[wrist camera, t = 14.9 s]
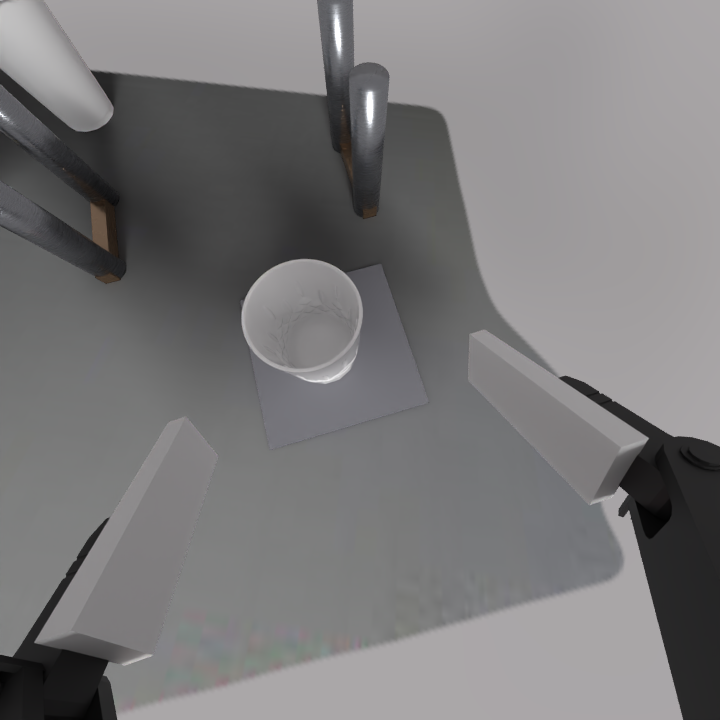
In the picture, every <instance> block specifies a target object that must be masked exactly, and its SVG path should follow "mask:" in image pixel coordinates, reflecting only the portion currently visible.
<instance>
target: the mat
mask: <svg viewBox="0 0 720 720" xmlns="http://www.w3.org/2000/svg"><path fill="white" fill-rule="evenodd" d="M345 274H346V275H347V276H348V277H349V278H350V279H351V280H352V282H353V283H354V285H355V286H356V288H357V290H358V292H359V294H360V297H361V301H362V307H363V319H362V326H361V334H360V342H359V347H358V351H357V355H356V358H355V360H354V363H353V365H352V368H351V370H350V371H349V372H348V373H346V374H345V375H344V376H343V377H342V378H341V379H340V380H337V381H334V382H331V383H327V384H320V383H313V382H309V381H306V380H302V379H300V378H297V377H295V376H292V375H290V374H288V373H286V372H284V371H281V370H279V369H277V368H274V367H272V366H270V365H268V364H267V363H265V362H264V361H262V360H261V359H260V358H259V357H258V356H257V355H256V354H255V353H254V352H253V351H252V349H251V348H250V347H249V350H250V355H251V360H252V365H253V370H254V375H255V380H256V385H257V390H258V395H259V400H260V405H261V410H262V415H263V420H264V425H265V430H266V435H267V440H268V445H269V450H272V449H276V448H279V447H282V446H286V445H289V444H292V443H296V442H299V441H302V440H306V439H309V438H312V437H316V436H319V435H323V434H326V433H329V432H333V431H336V430H339V429H343V428H346V427H349V426H353V425H356V424H359V423H363V422H366V421H369V420H373V419H376V418H379V417H383V416H386V415H389V414H393V413H396V412H399V411H403V410H406V409H410V408H413V407H416V406H420V405H423V404H426V403H429V400H428V397H427V395H426V392H425V389H424V386H423V383H422V380H421V377H420V374H419V371H418V369H417V366H416V363H415V360H414V357H413V354H412V351H411V348H410V346H409V343H408V340H407V337H406V334H405V331H404V328H403V325H402V322H401V320H400V317H399V314H398V311H397V308H396V305H395V302H394V299H393V296H392V294H391V291H390V288H389V285H388V282H387V279H386V276H385V273H384V271H383V268H382V265H381V264H377V265H373V266H369V267H365V268H362V269H358V270H354V271H350V272H346V273H345ZM244 301H245V299H244V300H240V305H241V310H242V308H243V304H244Z"/></svg>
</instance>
